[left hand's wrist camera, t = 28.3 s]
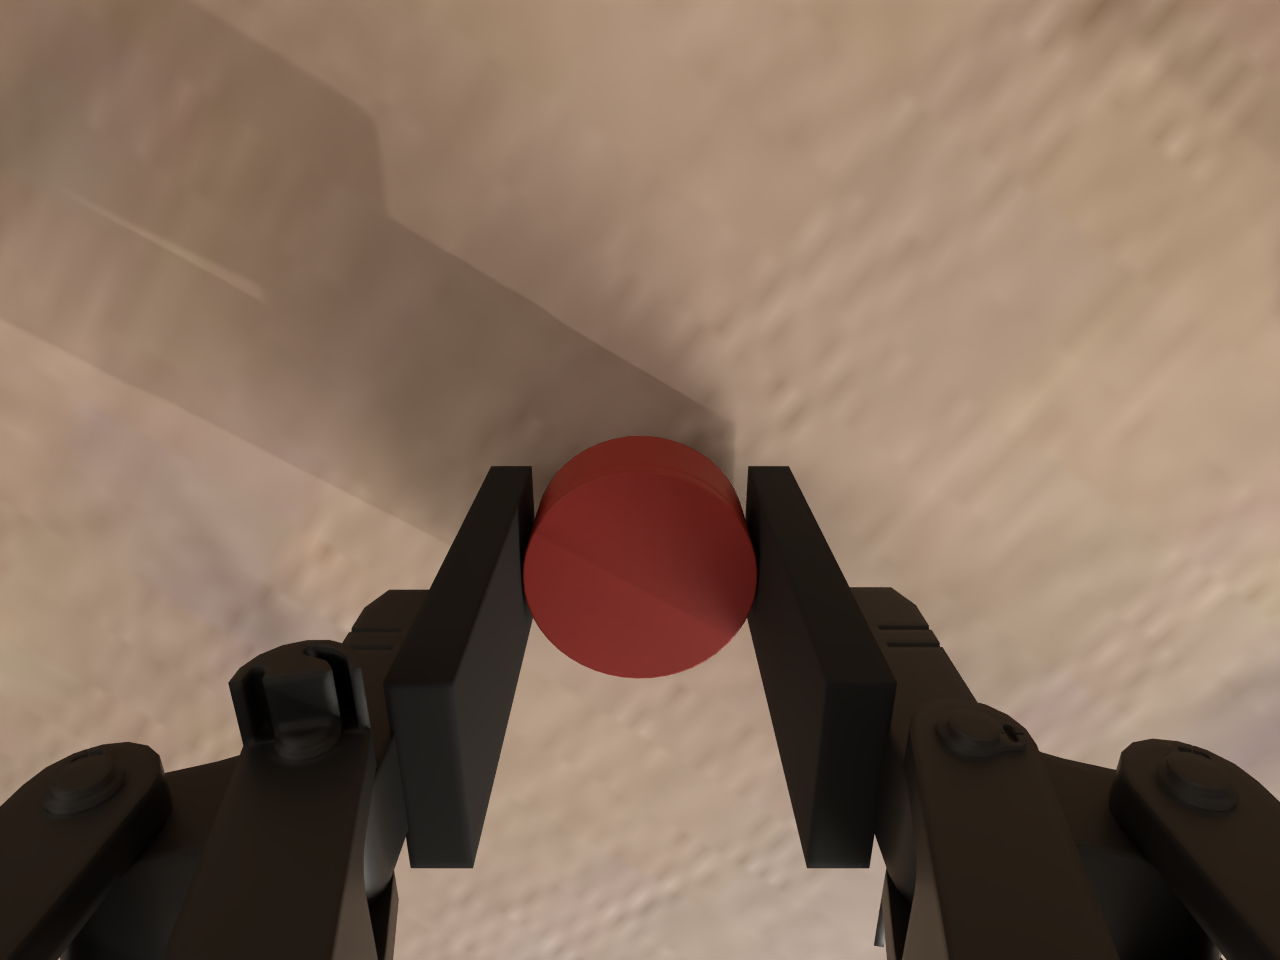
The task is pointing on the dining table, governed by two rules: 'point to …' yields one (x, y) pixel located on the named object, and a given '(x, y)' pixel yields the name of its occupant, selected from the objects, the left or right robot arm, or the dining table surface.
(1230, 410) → the dining table surface
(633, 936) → the dining table surface
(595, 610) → the cap
